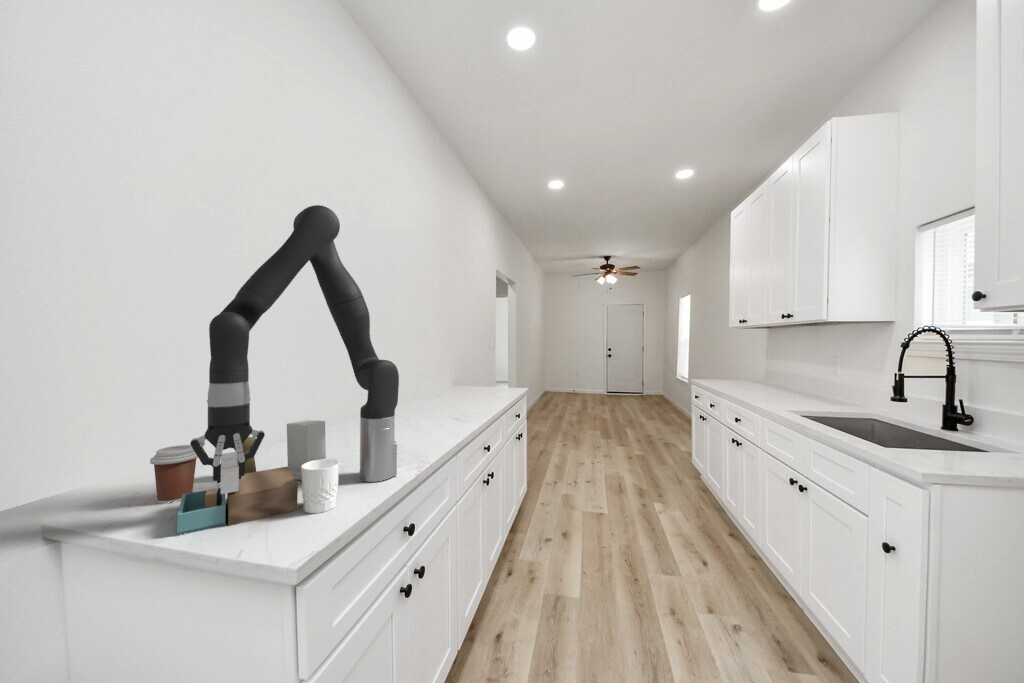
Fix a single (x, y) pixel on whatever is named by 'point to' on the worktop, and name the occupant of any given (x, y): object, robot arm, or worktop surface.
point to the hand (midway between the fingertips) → (229, 479)
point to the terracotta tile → (212, 497)
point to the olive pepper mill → (250, 462)
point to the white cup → (320, 485)
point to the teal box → (199, 513)
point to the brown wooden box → (262, 495)
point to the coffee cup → (174, 472)
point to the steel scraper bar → (229, 473)
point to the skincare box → (305, 444)
